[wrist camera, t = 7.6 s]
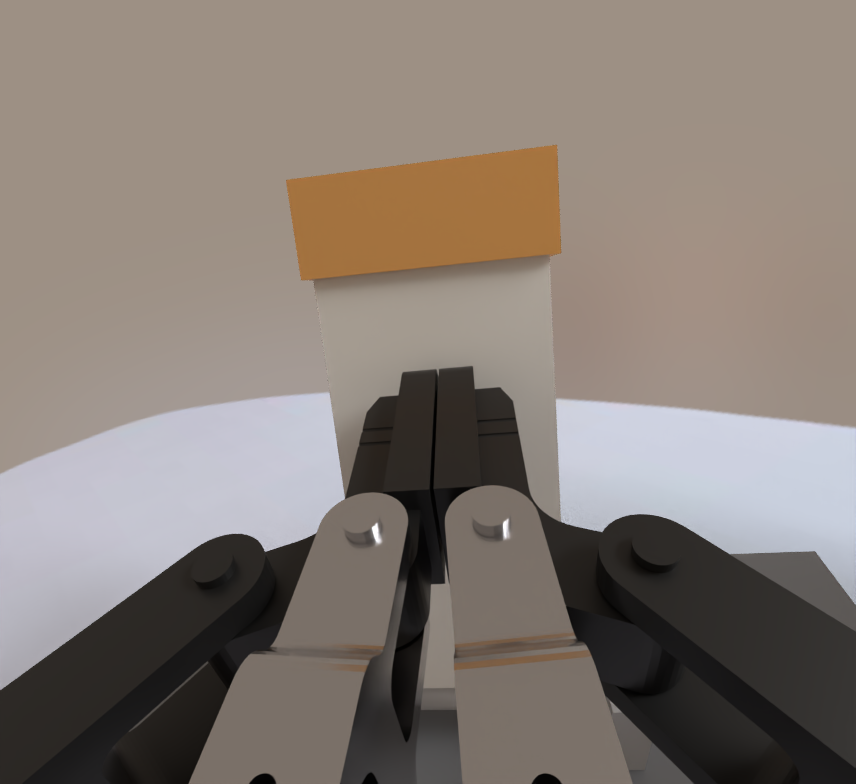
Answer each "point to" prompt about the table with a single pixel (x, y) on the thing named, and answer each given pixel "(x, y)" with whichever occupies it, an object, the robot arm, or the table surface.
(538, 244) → the breaker lever
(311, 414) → the table surface
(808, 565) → the block
